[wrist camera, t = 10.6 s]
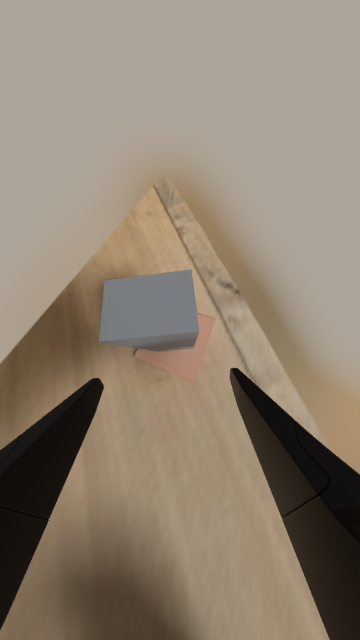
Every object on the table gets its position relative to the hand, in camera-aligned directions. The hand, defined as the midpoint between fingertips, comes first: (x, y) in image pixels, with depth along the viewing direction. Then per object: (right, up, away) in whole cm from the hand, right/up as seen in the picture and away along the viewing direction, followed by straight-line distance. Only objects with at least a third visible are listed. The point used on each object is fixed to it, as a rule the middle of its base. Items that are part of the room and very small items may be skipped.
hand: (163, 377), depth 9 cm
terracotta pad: (0, +1, +10) cm, 10 cm away
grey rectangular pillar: (0, +1, +10) cm, 10 cm away
